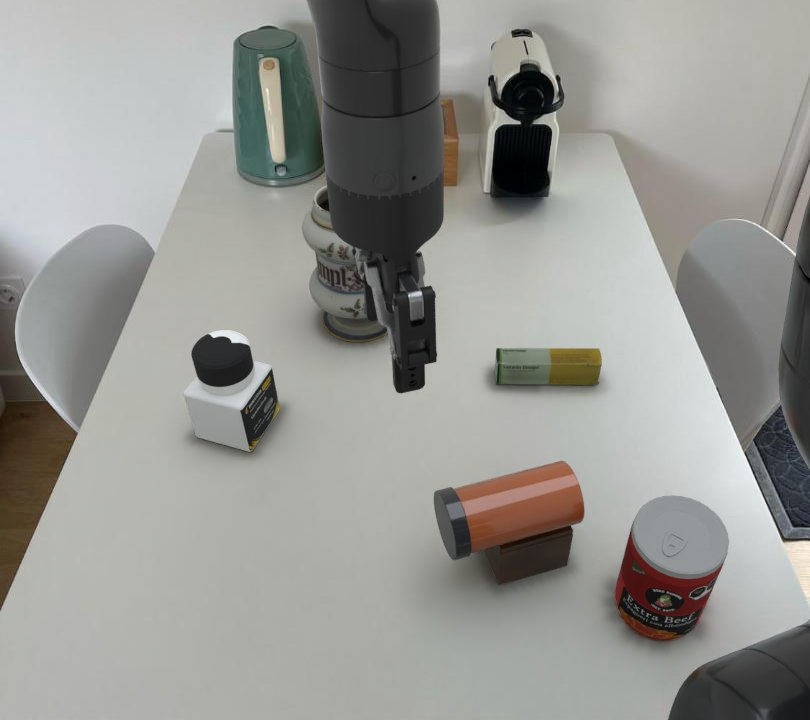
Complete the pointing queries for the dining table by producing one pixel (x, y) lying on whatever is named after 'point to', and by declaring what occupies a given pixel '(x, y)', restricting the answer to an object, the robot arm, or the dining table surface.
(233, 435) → the medicine bottle
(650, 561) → the canned food
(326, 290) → the apothecary jar
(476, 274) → the dining table surface
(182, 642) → the dining table surface
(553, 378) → the medication box
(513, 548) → the block
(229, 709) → the dining table surface
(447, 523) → the jar
